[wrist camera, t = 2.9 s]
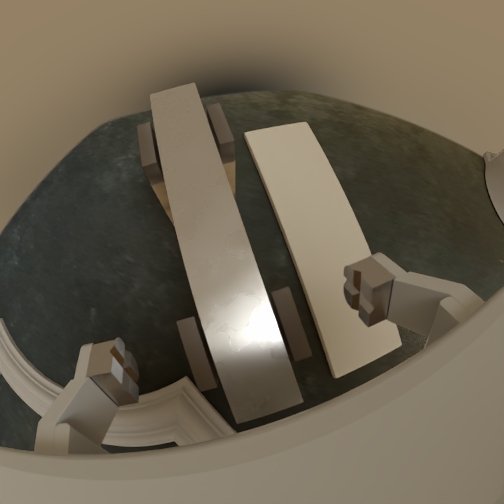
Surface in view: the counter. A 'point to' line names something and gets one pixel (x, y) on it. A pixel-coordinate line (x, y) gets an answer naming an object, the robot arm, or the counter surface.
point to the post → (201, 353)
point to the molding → (128, 416)
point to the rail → (220, 261)
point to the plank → (319, 241)
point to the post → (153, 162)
